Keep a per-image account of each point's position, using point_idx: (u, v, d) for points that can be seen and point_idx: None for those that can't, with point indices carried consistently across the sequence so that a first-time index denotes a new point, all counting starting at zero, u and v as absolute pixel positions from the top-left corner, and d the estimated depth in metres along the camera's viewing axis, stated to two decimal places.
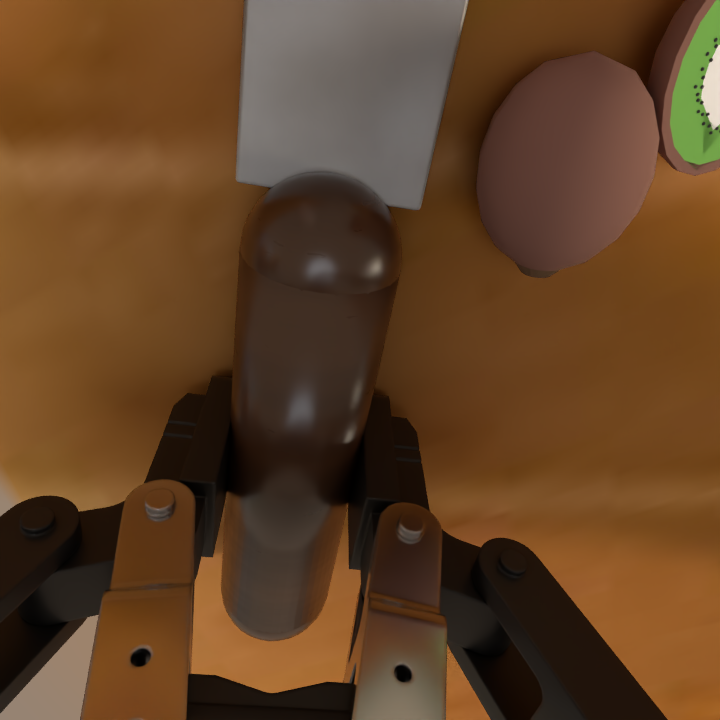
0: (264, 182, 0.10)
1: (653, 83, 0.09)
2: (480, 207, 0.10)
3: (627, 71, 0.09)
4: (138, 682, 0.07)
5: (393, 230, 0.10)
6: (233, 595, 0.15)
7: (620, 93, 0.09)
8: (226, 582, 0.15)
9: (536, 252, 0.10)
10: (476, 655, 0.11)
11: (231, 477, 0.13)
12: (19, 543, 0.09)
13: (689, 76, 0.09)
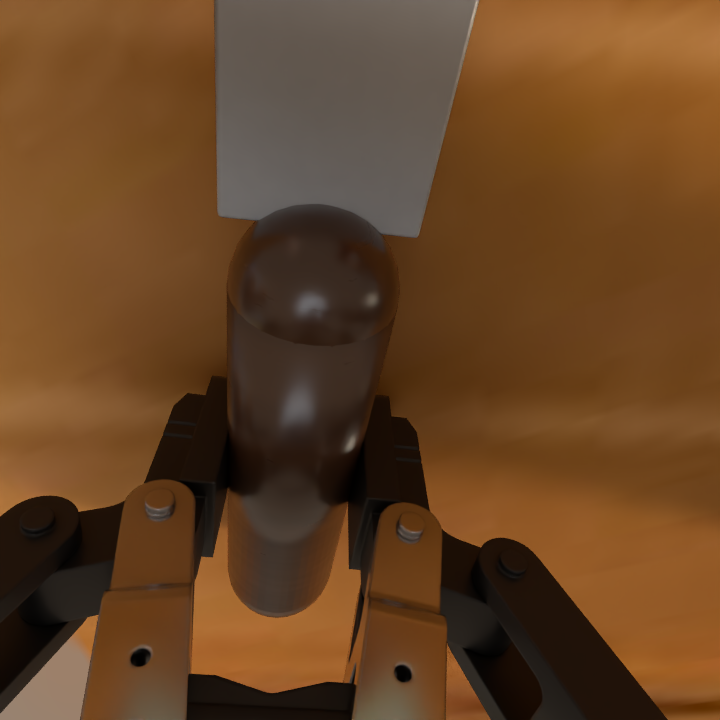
0: (249, 216, 0.09)
1: None
2: None
3: None
4: (138, 682, 0.07)
5: (390, 268, 0.09)
6: (240, 582, 0.15)
7: None
8: (233, 571, 0.16)
9: None
10: (476, 655, 0.11)
11: (232, 489, 0.13)
12: (19, 543, 0.09)
13: None
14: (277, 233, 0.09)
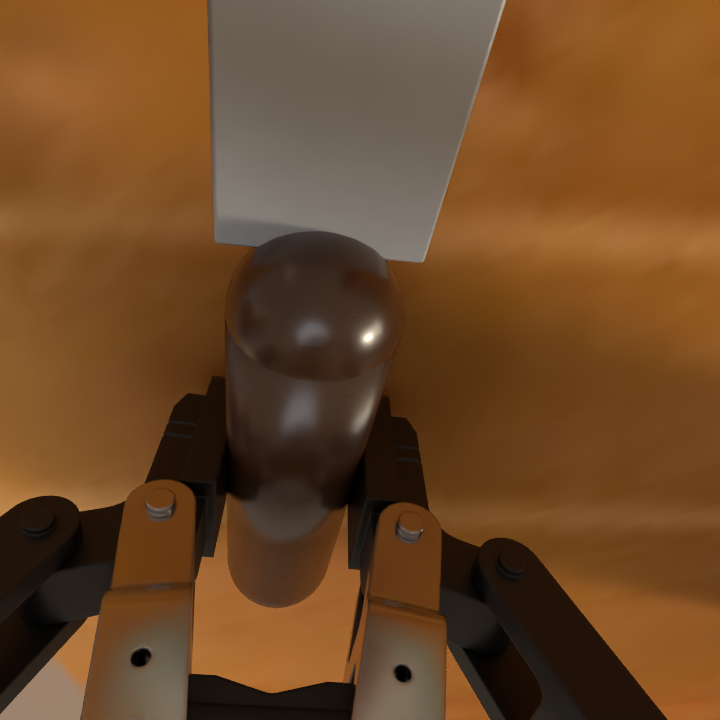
0: (247, 243, 0.09)
1: None
2: None
3: None
4: (138, 682, 0.07)
5: (394, 299, 0.09)
6: (240, 577, 0.16)
7: None
8: (233, 566, 0.16)
9: None
10: (475, 655, 0.11)
11: (231, 498, 0.13)
12: (20, 543, 0.09)
13: None
14: (277, 266, 0.09)
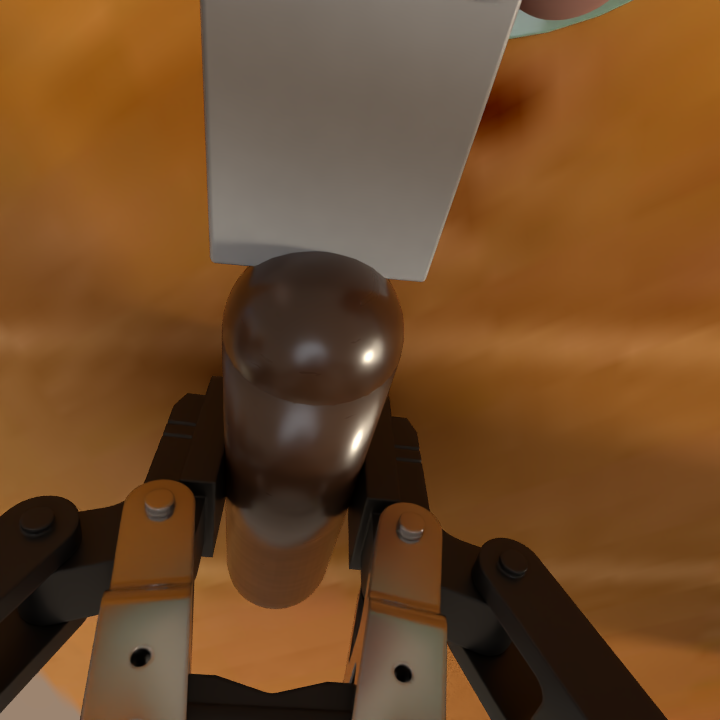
0: (244, 262, 0.09)
1: None
2: None
3: None
4: (138, 682, 0.07)
5: (395, 320, 0.09)
6: (239, 580, 0.16)
7: None
8: (232, 569, 0.16)
9: None
10: (476, 655, 0.11)
11: (230, 506, 0.13)
12: (19, 543, 0.09)
13: None
14: (275, 288, 0.08)
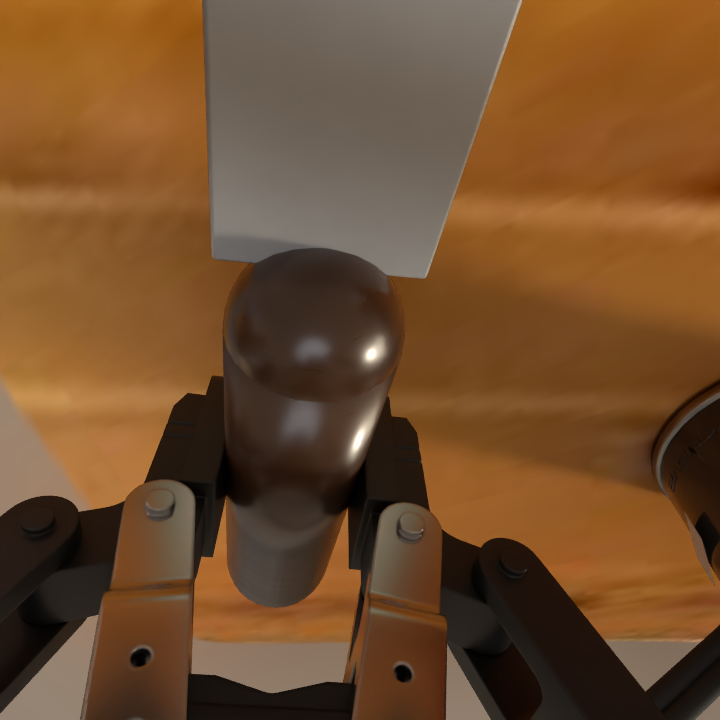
0: (245, 259, 0.09)
1: None
2: None
3: None
4: (138, 682, 0.07)
5: (396, 317, 0.09)
6: (239, 579, 0.16)
7: None
8: (232, 567, 0.16)
9: None
10: (476, 655, 0.11)
11: (230, 505, 0.13)
12: (19, 543, 0.09)
13: None
14: (276, 285, 0.08)
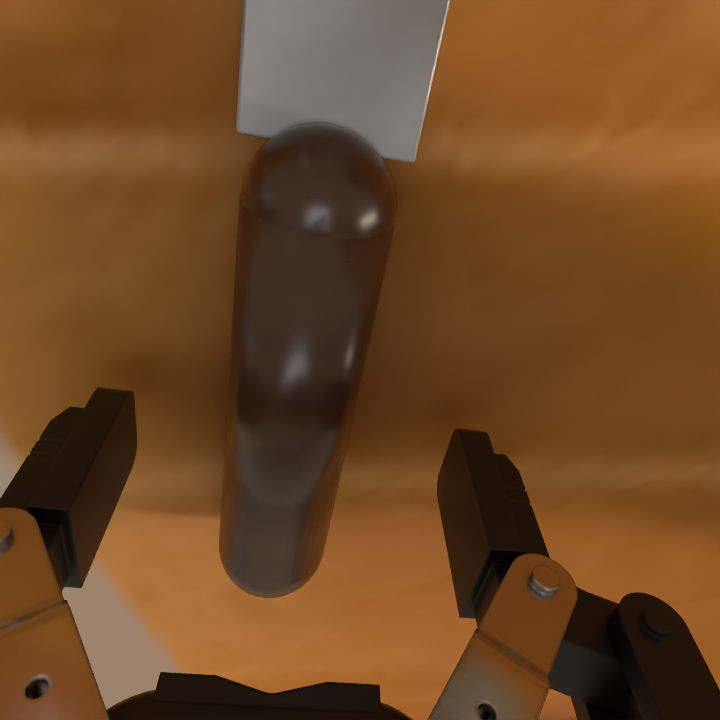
0: (264, 133, 0.11)
1: None
2: None
3: None
4: (44, 711, 0.07)
5: (388, 179, 0.10)
6: (230, 550, 0.15)
7: None
8: (224, 538, 0.15)
9: None
10: (595, 706, 0.10)
11: (230, 429, 0.13)
12: None
13: None
14: (288, 137, 0.10)
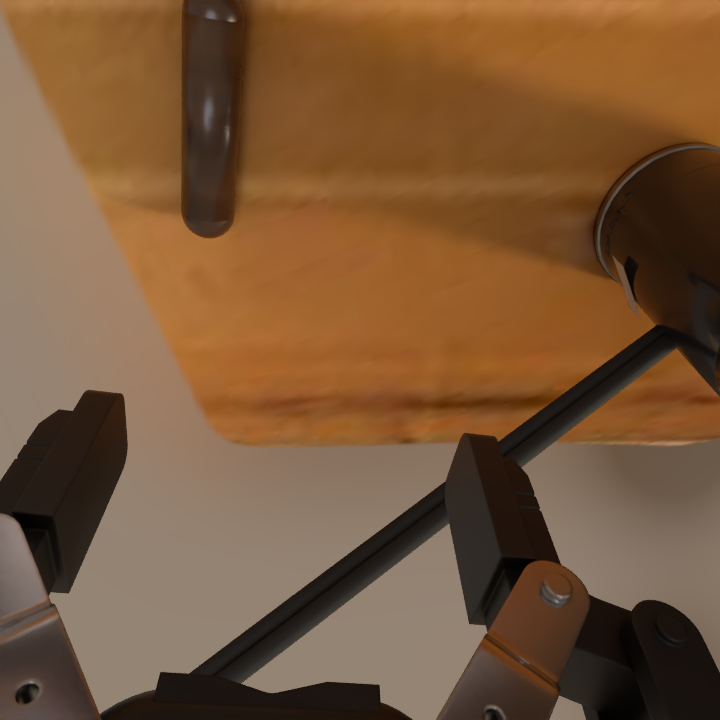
0: None
1: None
2: None
3: None
4: (35, 716, 0.07)
5: (237, 1, 0.28)
6: (185, 201, 0.32)
7: None
8: (182, 197, 0.32)
9: None
10: (606, 713, 0.10)
11: (182, 127, 0.30)
12: None
13: None
14: None
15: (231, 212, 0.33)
